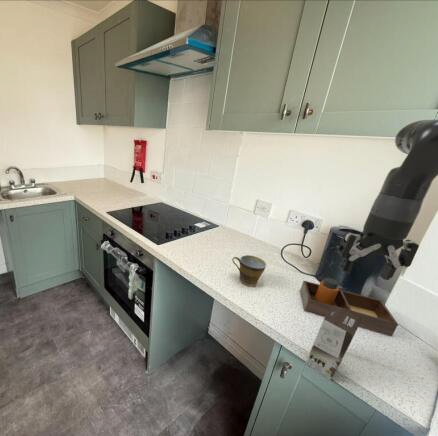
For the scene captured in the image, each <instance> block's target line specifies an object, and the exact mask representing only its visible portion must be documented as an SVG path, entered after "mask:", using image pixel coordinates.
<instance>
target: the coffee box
mask: <svg viewBox="0 0 438 436" xmlns="http://www.w3.org/2000/svg"><path fill="white" fill-rule="evenodd" d="M360 321H361V318H359V317H357V316H355V315H353V314H351V313H349V312H347V311H345V310H342V309H340V308H338V307H336V306H333V307H332V308H331V310H330V311H329V313H328V314H327V316H326V317H323V321H322V323H321V325H320V327H319V330H318V332H317V335H316V336H315V337H316V338H315V339H314V342H313V344H312V347H311V349H310V351H309V353H308V356H307V358H306V361H305V364H306V365H307V366H308V367H309V368H311V369H313V370H314V371H315V372H317V373H319V374H320V375H321V376H323V377H325V379H327V380H329V381H332V380H333V379H332V378H333V377H334V375H335V373H336V372H337V370H338V368H339V366H340V365H341V363H342V361H343V359H344V357H345V355H346V354H347V351H348V349H349V347H350V345H351V343H352V341H353V338H354V337H355V335H356V332H357V330H358V328H359V327H358V326H359V323H360Z"/></svg>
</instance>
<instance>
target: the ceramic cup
mask: <svg viewBox="0 0 438 436" xmlns="http://www.w3.org/2000/svg"><path fill="white" fill-rule="evenodd" d="M234 260H237V261H238V262H239V266H238V265H237V263H236V262H235V261H234ZM231 261H232V263H233V264H234V265H235V266H236V268H237V269H238V271H239V282H240V283H241V284H243V286H247V287H256V286H257V284H258V281H259V280H260V278H261V275H263V273H264V272H265V269H266V268H267V262H265V260H264V259H262V258H260V257H257V256H255V255H249V254H244V255H241V256H240V257H237V256H234V257H233V258H232V260H231Z"/></svg>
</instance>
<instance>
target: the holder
mask: <svg viewBox="0 0 438 436" xmlns="http://www.w3.org/2000/svg"><path fill="white" fill-rule="evenodd" d="M319 284H320V283H319ZM319 284H318V283H316V282H311V281H307V280H303V281H302V284H301V287H300V290H299V293H300V297H301V302H302V307H303V311H304V312H306V313H309V314H313V315H316V316H319V317H323V318H325V317H326V316H327V314H328V313H329V311H330V310H331V308H332V307H333V306H336V307H338V308H340V309H342V310H345V311H347V312H349V313H351V314H353V315H355V316H357V317H359V318H361V321H360V323H359V326H358V328H361V329H364V330H367V331H371V332H375V333H377V334H381V335H385V336H388V337H393V335H394V333H395V331H396V330H397V328H398V326H399V324H398V322H397V320H396V319H395V317H394V316H393V314H392V313H391V312H390V310H389V309H388V307H387V306H386V305H385V303H384V301H383V300H381V299H378V298H374V297H370V296H367V295H363V294H358V293H356V292H355V293H354V292H351V291H346V290H342V289H339V291H338V293H337V296H336V298H335V300H334V303H333V305H330V304H327V303H323V302H319V301H316V300H314V297H315V295H316V292H317V290H318V287H319Z"/></svg>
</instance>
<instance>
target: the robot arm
mask: <svg viewBox="0 0 438 436" xmlns="http://www.w3.org/2000/svg"><path fill="white" fill-rule="evenodd" d="M394 145H395V147H396V149H397V150H399V151H400V152H401V153H403V154H405V155H406V157H405V158H404V160H403V161H402V163H401V164H400V165H399V166H396V167H394V168H391V169H390V170H389V171H388V172H387V174H386V175H385V179H384V180H383V183H382V185H381V188H380V191H379V192H378V194H377V196H376V198H375V199H374V201H373V203H372V205H371V208H370V211H369V213H368V215H367V217H366V220H365V222H364V223H363V228H362V229H363V230H362V232H361V233H360V234H357V233H356V234H355V233H352V232H351V231H346V232H345V233H344V235H343V237H342V239H341V241H340V243H339V245H338V248H337V250H336V252H337V253H338V254H339V256H340V257H342V258H343V259H342V261H341V264H340V269H341V271H342V272H343V273H344V274H350V273H351V270H352V268H353V266H354V264H355V261H356V260H357V259H358V258H360V257H361V258H362V257H365V256H367V255H369V256H379V257H383V258H384V257H385V259H386V261H387V262H385V263H384V265H383V267H382V269H381V271H380V273H379V276H380V277H381V279H383V280H384V281H385V280H386V281H390V279H392V278H393V277H394V275H395V273H396V271H397V269H398V268H400V267H405V268H408V267H411V265H412V263H413V261H414V260H415V256H416V255H417V252H418V249H419V247H420V245H419V244H418V243H416V242H415V241H413V240H411V239H407V238H408V236H409V234H410V232H411V230H412V228H413V225H414V224H415V222H416V219H417V218H418V215H419V214H420V212H421V210H422V206H423V202H424V199H425V198H426V196H427V194H428V192H429V190H430V188H431V186H432V184H433V182H434V180H435V179H436V178H437V177H438V119H421V120H417V121H413V122H410V123H408V124H407V125H405V126H404V127H402V128H401V129H400V130H399V131H398V132H397V133H396V135H395V138H394ZM399 249H400V251H399V254H397V250H399Z"/></svg>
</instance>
